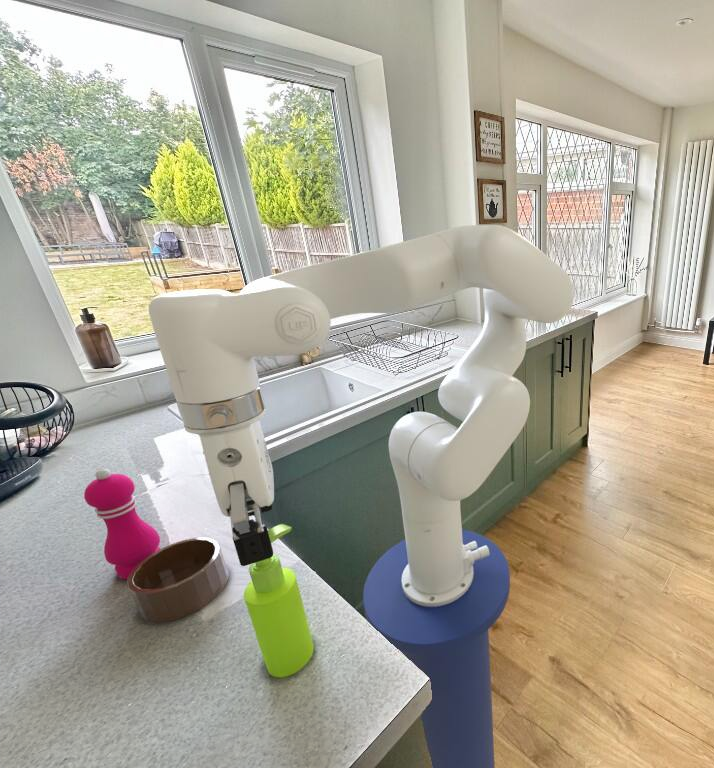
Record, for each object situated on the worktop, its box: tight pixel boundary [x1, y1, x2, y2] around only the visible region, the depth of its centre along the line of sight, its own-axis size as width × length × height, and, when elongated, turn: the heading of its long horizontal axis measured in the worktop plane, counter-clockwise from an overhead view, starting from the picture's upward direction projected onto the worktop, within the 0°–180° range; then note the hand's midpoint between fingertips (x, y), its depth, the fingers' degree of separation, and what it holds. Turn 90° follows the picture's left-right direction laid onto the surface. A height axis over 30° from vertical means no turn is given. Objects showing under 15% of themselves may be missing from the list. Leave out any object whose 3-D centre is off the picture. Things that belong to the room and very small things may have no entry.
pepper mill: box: [83, 468, 161, 580], centre depth 70 cm, size 7×7×20 cm
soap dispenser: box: [243, 523, 315, 678], centre depth 55 cm, size 6×7×20 cm
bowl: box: [126, 536, 230, 624], centre depth 68 cm, size 12×12×6 cm
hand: (258, 534), depth 51 cm, fingers open, 9 cm apart
